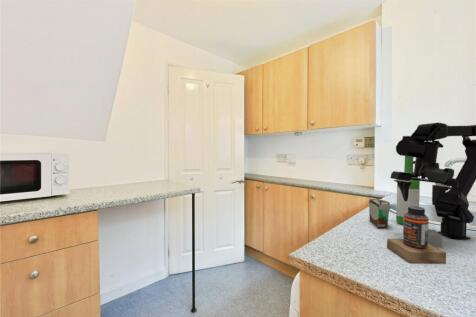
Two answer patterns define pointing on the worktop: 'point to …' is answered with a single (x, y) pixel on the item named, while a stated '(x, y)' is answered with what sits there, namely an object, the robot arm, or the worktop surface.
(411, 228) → the supplement bottle
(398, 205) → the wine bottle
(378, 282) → the worktop surface
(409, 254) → the walnut block
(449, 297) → the worktop surface
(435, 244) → the slate block
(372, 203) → the food container
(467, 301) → the worktop surface
